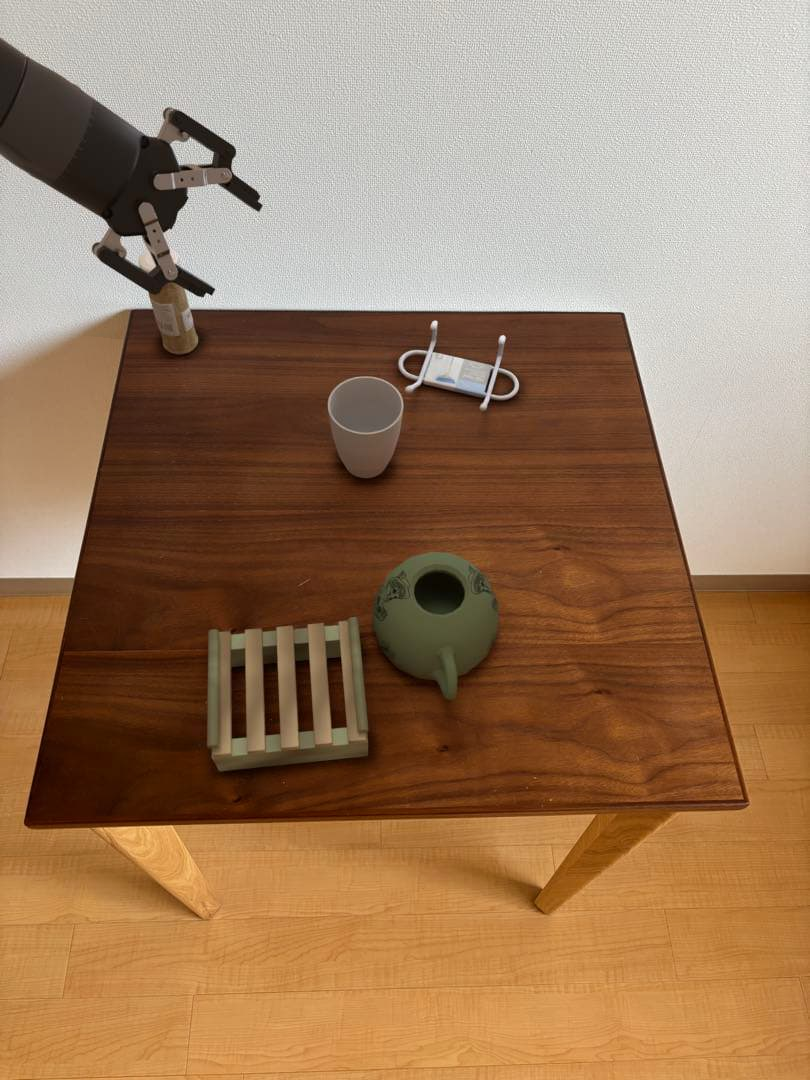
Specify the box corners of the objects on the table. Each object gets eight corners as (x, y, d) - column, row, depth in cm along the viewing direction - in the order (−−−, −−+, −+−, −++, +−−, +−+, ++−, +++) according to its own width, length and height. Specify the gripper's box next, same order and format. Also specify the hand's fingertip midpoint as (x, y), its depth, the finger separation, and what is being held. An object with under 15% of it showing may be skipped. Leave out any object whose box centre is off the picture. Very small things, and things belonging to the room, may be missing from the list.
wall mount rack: (524, 365, 105) (532, 332, 100) (504, 445, 98) (511, 413, 93) (407, 340, 107) (409, 305, 102) (379, 416, 100) (379, 383, 95)
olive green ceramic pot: (365, 580, 87) (365, 538, 80) (484, 570, 89) (494, 527, 81) (381, 724, 79) (382, 691, 72) (511, 710, 80) (526, 677, 73)
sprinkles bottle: (206, 344, 105) (185, 258, 93) (176, 361, 103) (152, 276, 92) (184, 325, 107) (162, 238, 95) (155, 342, 105) (129, 256, 93)
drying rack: (217, 771, 76) (206, 750, 71) (218, 653, 82) (207, 625, 77) (369, 756, 77) (369, 733, 72) (358, 641, 84) (357, 612, 78)
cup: (367, 423, 99) (367, 365, 90) (414, 462, 96) (419, 406, 88) (317, 459, 96) (312, 402, 87) (364, 501, 93) (363, 446, 84)
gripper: (30, 230, 62) (209, 329, 73) (119, 55, 59) (291, 185, 70) (14, 210, 67) (183, 305, 78) (95, 49, 64) (258, 171, 76)
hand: (234, 249), depth 74 cm, fingers open, 8 cm apart
